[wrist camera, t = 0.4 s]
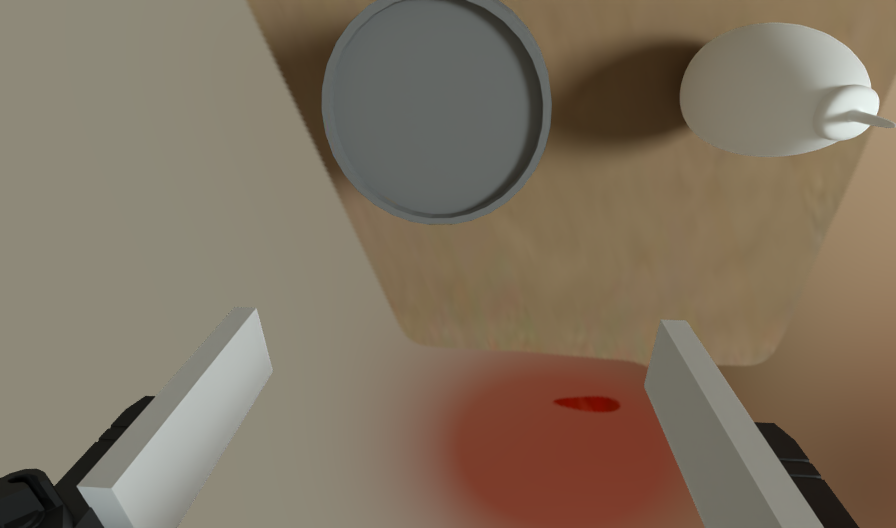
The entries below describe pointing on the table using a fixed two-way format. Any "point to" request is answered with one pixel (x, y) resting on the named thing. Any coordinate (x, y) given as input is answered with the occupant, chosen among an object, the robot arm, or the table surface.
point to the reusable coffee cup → (437, 107)
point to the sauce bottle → (777, 91)
